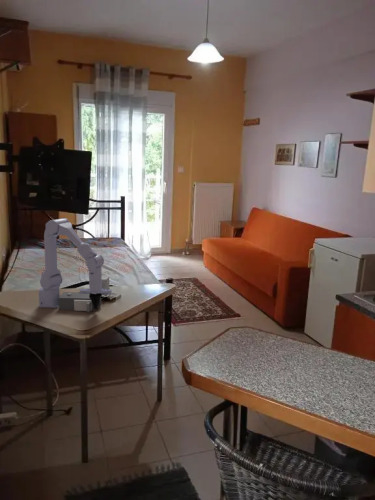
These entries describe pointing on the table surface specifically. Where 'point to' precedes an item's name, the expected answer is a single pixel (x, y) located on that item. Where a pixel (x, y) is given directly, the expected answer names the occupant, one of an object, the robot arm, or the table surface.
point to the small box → (105, 284)
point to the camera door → (82, 305)
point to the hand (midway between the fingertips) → (96, 308)
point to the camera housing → (72, 300)
